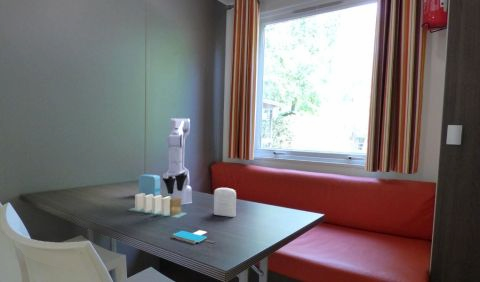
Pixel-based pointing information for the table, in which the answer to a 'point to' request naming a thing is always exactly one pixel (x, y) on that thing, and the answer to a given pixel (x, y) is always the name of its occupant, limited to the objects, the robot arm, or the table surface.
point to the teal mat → (160, 213)
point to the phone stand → (191, 237)
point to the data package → (149, 184)
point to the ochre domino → (175, 206)
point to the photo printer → (225, 202)
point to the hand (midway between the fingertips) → (175, 192)
